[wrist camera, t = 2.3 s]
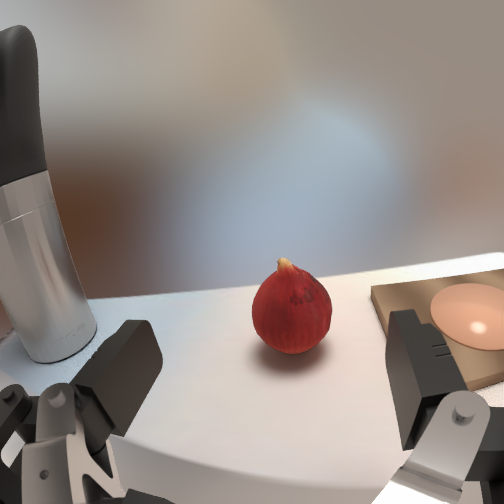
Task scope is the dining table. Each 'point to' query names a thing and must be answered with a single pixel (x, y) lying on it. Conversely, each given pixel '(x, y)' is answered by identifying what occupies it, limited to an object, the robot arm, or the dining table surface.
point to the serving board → (456, 318)
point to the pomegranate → (291, 309)
